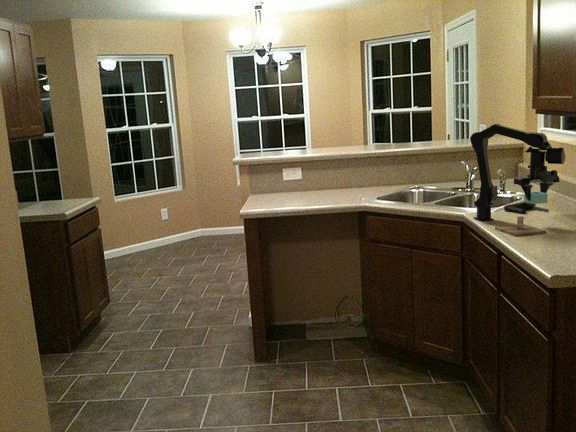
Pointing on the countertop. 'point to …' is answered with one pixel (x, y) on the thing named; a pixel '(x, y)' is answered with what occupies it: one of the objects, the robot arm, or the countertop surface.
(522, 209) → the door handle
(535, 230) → the post plate
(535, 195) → the collar
